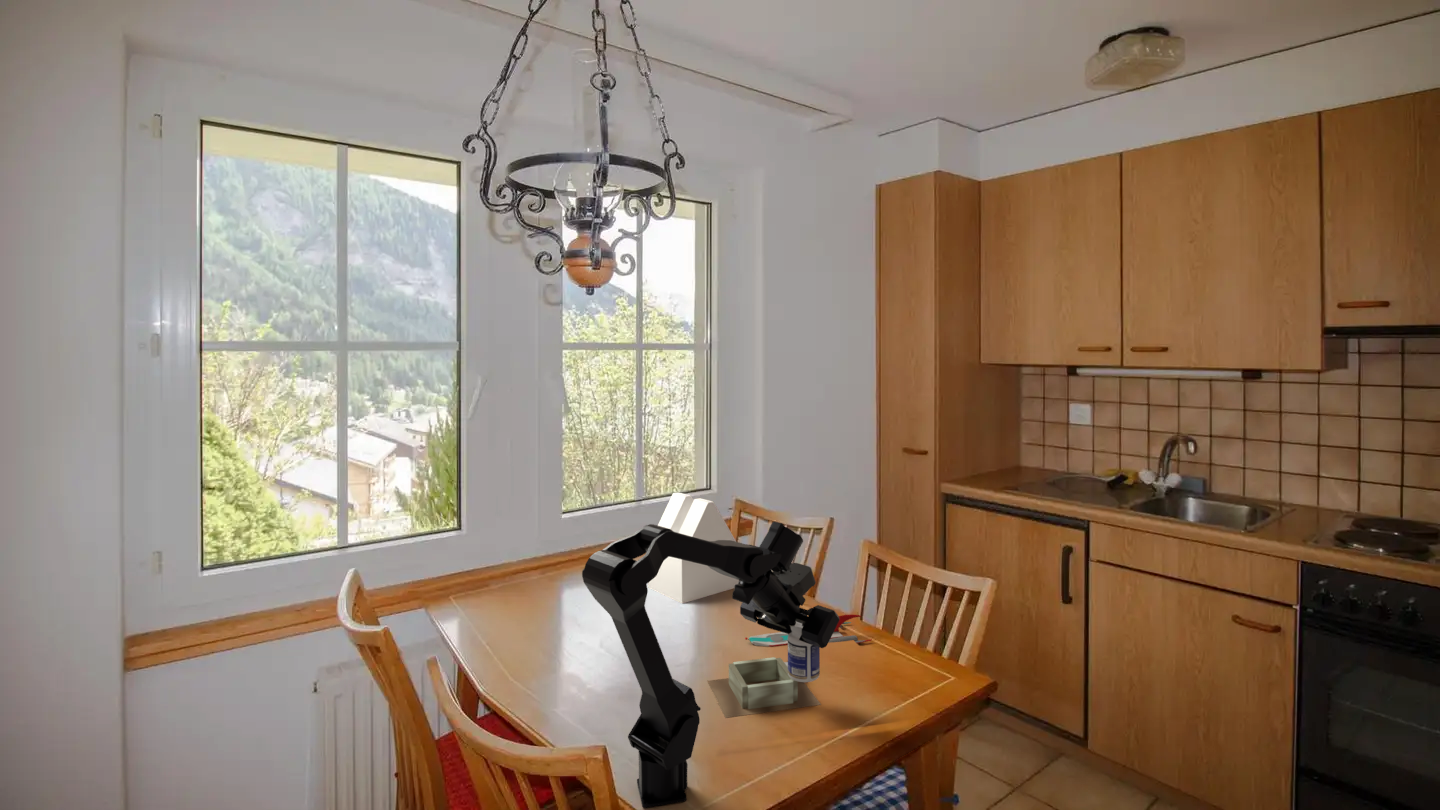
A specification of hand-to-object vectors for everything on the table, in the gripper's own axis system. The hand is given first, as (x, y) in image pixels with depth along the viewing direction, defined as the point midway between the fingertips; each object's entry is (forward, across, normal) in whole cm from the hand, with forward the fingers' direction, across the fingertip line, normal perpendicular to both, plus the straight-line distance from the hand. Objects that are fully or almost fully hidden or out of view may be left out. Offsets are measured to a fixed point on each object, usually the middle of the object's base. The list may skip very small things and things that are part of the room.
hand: (808, 637), depth 128 cm
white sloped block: (+29, +62, -10) cm, 69 cm away
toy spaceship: (+26, +18, -6) cm, 32 cm away
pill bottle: (+4, 0, +6) cm, 7 cm away
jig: (+7, +8, +12) cm, 16 cm away
